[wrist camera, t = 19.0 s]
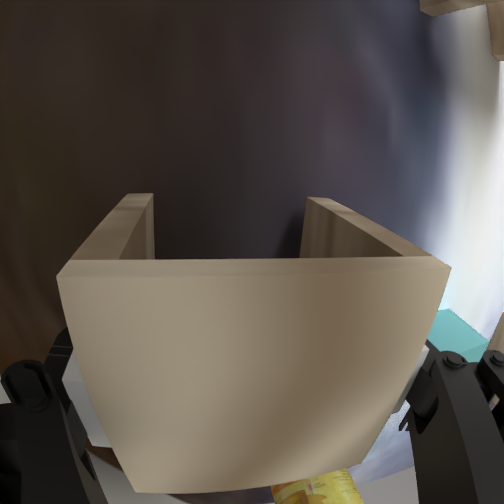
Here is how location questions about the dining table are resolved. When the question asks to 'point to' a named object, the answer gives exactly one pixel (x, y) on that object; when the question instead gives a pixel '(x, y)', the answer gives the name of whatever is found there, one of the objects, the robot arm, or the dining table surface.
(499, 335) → the cover
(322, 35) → the dining table surface
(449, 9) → the cover
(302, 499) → the sauce bottle
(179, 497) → the dining table surface
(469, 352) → the teal cube
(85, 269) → the cover
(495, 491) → the robot arm
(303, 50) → the dining table surface
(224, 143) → the dining table surface
